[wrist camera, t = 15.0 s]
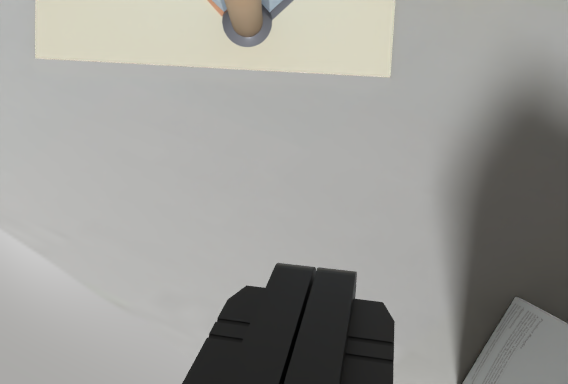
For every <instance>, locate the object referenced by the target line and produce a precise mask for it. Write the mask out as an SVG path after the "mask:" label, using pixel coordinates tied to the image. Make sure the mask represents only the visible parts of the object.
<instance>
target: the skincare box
mask: <svg viewBox="0 0 568 384" xmlns="http://www.w3.org/2000/svg"><path fill="white" fill-rule="evenodd" d="M462 384H568V323H566V322H564V321H562V320H561V319H559V318H557V317H555V316H553V315H551V314H550V313H548V312H546V311H544V310H542V309H540V308H538V307H536V306H534V305H533V304H531V303H529V302H527V301H525V300H523V299H521V298H519V297H515V298H514V300H513V301H512V303H511V305H510V306H509V308H508V310H507V311H506V313H505V314H504V316H503V318H502V319H501V321H500V323H499V324H498V326H497V327H496V329H495V331H494V332H493V334H492V336H491V337H490V339H489V340H488V342H487V344H486V345H485V347H484V349H483V350H482V352H481V354H480V355H479V357H478V358H477V360H476V362H475V363H474V365H473V367H472V368H471V370H470V372H469V373H468V375H467V377H466V378H465V380H464V382H463V383H462Z"/></svg>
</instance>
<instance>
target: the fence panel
mask: <svg viewBox="0 0 568 384" xmlns="http://www.w3.org/2000/svg"><path fill="white" fill-rule="evenodd" d="M212 1H213V2H214V3H215V4H216V5H217V6H218V7H219V8H221V9H222V10H223V11H224V12H225V11H226V10H227V8H226V4H225V1H224V0H212Z"/></svg>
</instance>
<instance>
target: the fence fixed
mask: <svg viewBox="0 0 568 384" xmlns="http://www.w3.org/2000/svg"><path fill="white" fill-rule="evenodd" d="M224 1H225V4H226V8H227V11H228V14H229V17H230V20H231V23H232V27H233V29H234V31H235V32H236V33H237V34H238V35H240V36H242V37H252V36H255V35H256V34H257V33H258V32H259V31H260V30H261V28H262V25H263V17H262V4H263V6H264V7H265V8H266V9H267V10H268V11H269V12H271V11H272V10H273V9H274V8H275V7H276V6H277V5H278V4H279V3H280V2H281V1H283V0H224Z"/></svg>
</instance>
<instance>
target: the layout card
mask: <svg viewBox="0 0 568 384" xmlns="http://www.w3.org/2000/svg"><path fill="white" fill-rule="evenodd" d="M394 13H395V0H283V1H281V2H280V3H279V4H278V5H277V6H276V7H275V8H274V9H273V10H272V11H271V12H269V11H268V10H267V9H266V8H265V7H264V6H263V4H262V17H263V25H262V28H261V30H260V31H259V32H258V33H257V34H256V35H255V36H252V37H242V36H240V35H238V34H237V33H236V32H235V31H234V29H233V27H232V23H231V20H230V17H229V14H228V11H227V10H226V11H225V12H224V11H223V10H222V9H221V8H219V7H218V6H217V5H216V4H215V3H214V2H213V1H212V0H36V6H35V58H37V59H55V60H73V61H92V62H110V63H129V64H148V65H166V66H185V67H204V68H222V69H241V70H259V71H278V72H297V73H315V74H334V75H352V76H371V77H390V74H391V59H392V43H393V28H394Z"/></svg>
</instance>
